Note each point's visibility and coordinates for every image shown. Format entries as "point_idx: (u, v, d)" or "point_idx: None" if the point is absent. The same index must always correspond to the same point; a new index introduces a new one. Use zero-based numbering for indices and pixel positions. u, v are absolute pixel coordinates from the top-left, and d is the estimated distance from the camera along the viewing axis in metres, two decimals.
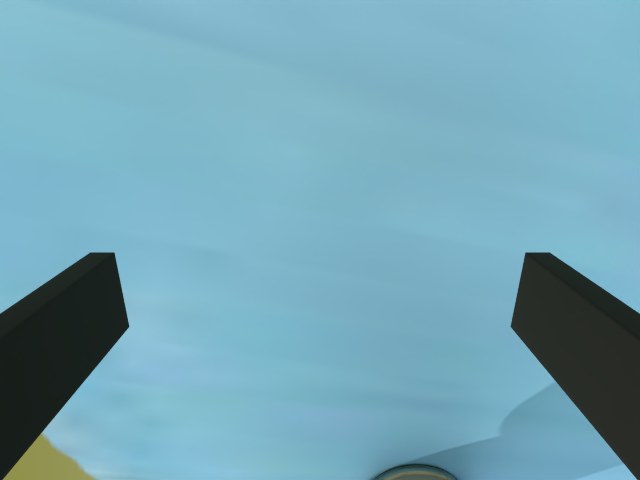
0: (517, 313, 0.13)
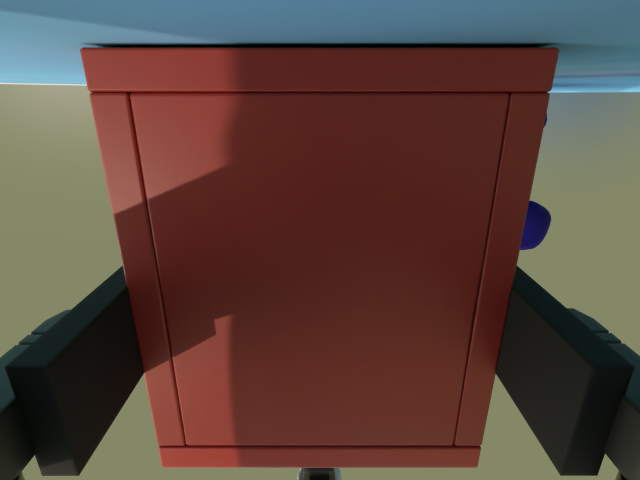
0: None
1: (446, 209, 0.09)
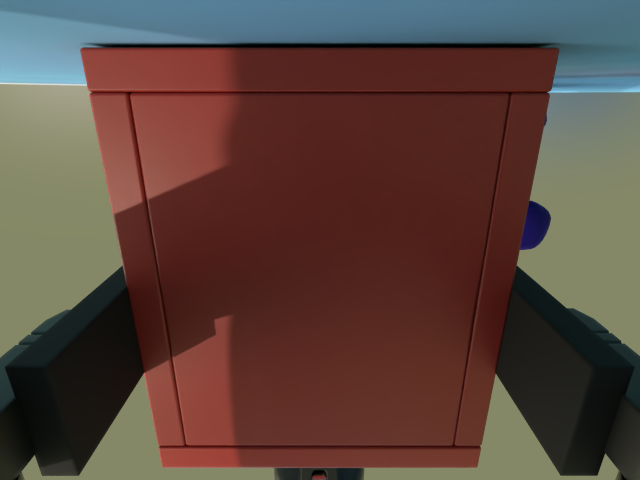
0: None
1: (447, 209, 0.09)
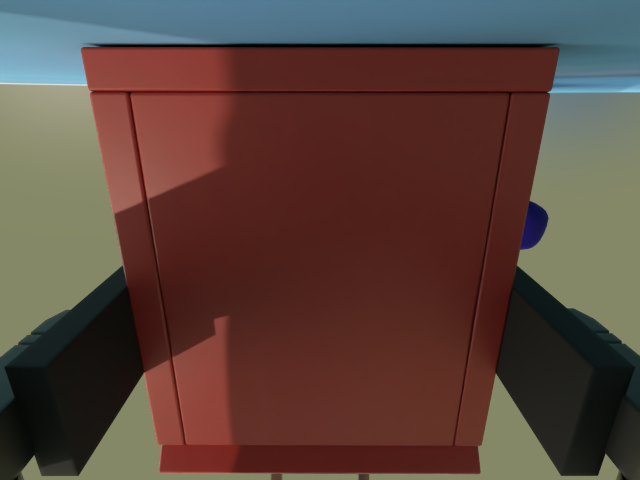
0: None
1: (447, 209, 0.09)
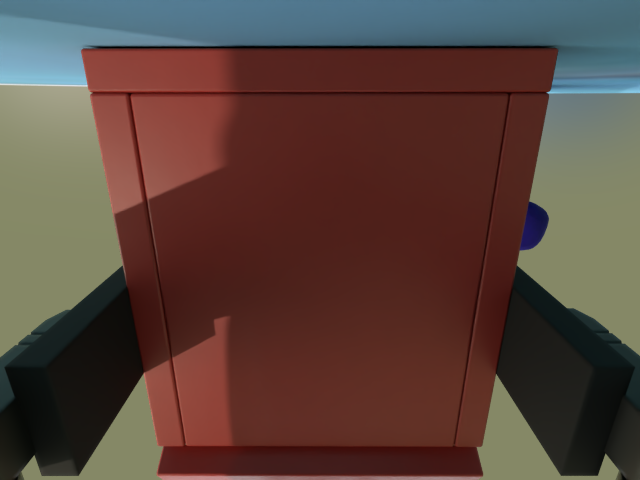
0: None
1: (446, 210, 0.09)
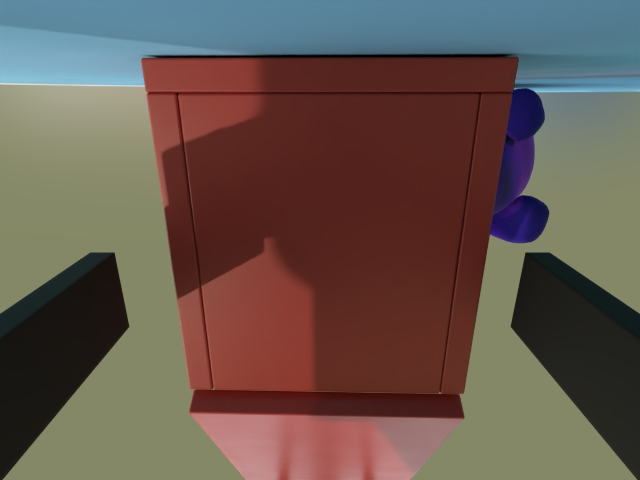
0: (518, 313, 0.13)
1: (431, 188, 0.11)
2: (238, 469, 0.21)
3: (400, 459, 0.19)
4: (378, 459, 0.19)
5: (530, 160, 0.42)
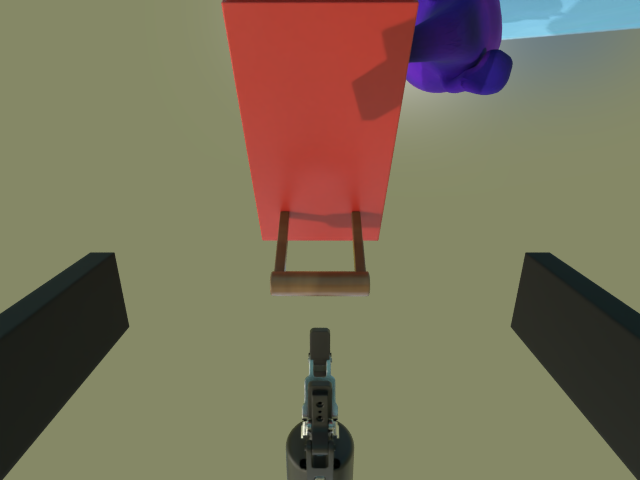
0: (517, 313, 0.13)
1: None
2: (250, 162, 0.27)
3: (377, 120, 0.24)
4: (360, 121, 0.24)
5: (497, 23, 0.48)
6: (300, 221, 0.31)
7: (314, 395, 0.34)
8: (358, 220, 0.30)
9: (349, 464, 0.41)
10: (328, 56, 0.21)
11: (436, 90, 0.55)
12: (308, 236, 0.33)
